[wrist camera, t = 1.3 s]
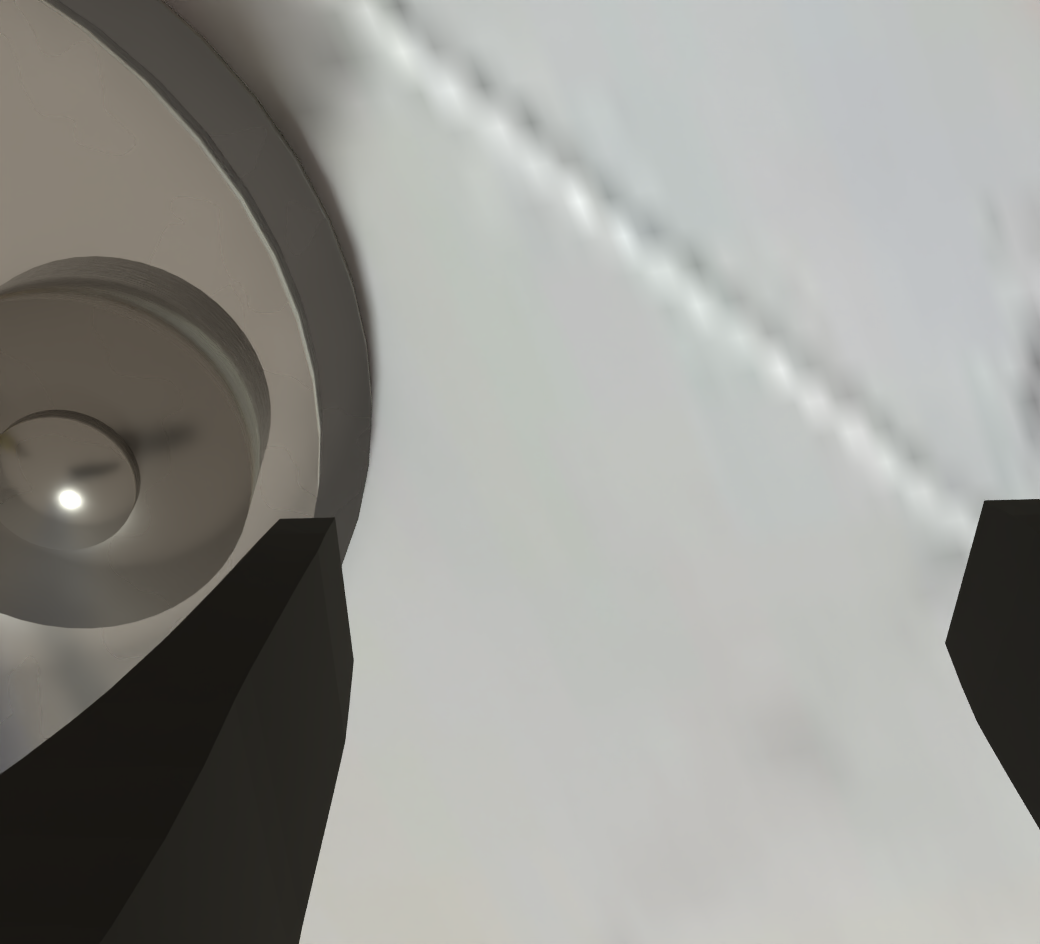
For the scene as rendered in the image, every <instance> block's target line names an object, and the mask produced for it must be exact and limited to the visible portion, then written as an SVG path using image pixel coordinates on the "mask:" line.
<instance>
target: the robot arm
mask: <svg viewBox="0 0 1040 944" xmlns="http://www.w3.org/2000/svg"><path fill="white" fill-rule="evenodd" d="M945 644H946V647H947V649H948V652H949V655H950V657H951V660H952V662H953V665H954V668H955V670H956V673H957V675H958V678H959V680H960V683H961V686H962V688H963V690H964V693H965V695H966V697H967V700H968V702H969V704H970V707H971V709H972V711H973V713H974V716H975V718H976V720H977V722H978V724H979V726H980V728H981V730H982V731H983V733H984V735H985V737H986V739H987V740H988V742H989V744H990V746H991V747H992V749H993V751H994V752H995V754H996V756H997V758H998V759H999V761H1000V763H1001V765H1002V766H1003V768H1004V770H1005V771H1006V773H1007V775H1008V777H1009V778H1010V780H1011V782H1012V783H1013V785H1014V787H1015V789H1016V790H1017V792H1018V794H1019V795H1020V797H1021V799H1022V800H1023V802H1024V804H1025V805H1026V807H1027V809H1028V810H1029V812H1030V814H1031V815H1032V817H1033V819H1034V821H1035V822H1036V824H1037V826H1038V827H1039V829H1040V499H1025V500H987V501H984V504H983V508H982V511H981V515H980V518H979V522H978V526H977V529H976V533H975V537H974V540H973V544H972V548H971V551H970V555H969V558H968V562H967V566H966V569H965V573H964V577H963V580H962V584H961V588H960V591H959V595H958V598H957V602H956V606H955V609H954V613H953V617H952V620H951V624H950V628H949V631H948V635H947V638H946V642H945ZM353 662H354V660H353V652H352V644H351V636H350V628H349V621H348V613H347V605H346V597H345V590H344V582H343V574H342V566H341V559H340V551H339V543H338V535H337V528H336V520H335V517H327V518H288V519H279V520H278V521H277V522H276V523H275V524H274V525H273V526H272V527H271V528H270V529H269V530H268V531H267V532H266V533H265V534H264V535H263V536H262V537H261V538H260V539H259V540H258V542H257V543H256V544H255V545H254V546H253V547H252V548H251V549H250V550H249V551H248V552H247V553H246V555H245V556H244V557H243V558H242V559H241V560H240V561H239V562H238V563H237V564H236V565H235V566H234V568H233V569H232V570H231V571H230V572H229V573H228V574H227V575H226V576H225V577H224V578H223V579H222V580H221V581H220V583H219V584H218V585H217V586H216V587H215V588H214V589H213V590H212V591H211V592H210V593H209V594H208V595H207V596H206V597H205V598H204V599H203V600H202V601H201V602H200V603H199V604H198V605H197V606H196V607H195V608H194V609H193V610H192V611H191V612H190V613H189V615H188V616H187V617H186V618H185V619H184V620H183V621H182V622H181V623H180V624H179V625H178V626H177V627H176V628H175V629H174V630H173V631H172V632H171V633H170V634H169V635H168V636H167V637H166V638H165V639H164V640H163V641H162V642H161V643H159V644H158V645H157V646H156V647H155V648H154V649H153V650H152V651H151V652H150V653H149V654H147V655H146V656H145V657H144V658H143V659H142V660H141V661H140V662H139V663H138V664H137V665H136V666H134V667H133V668H132V669H131V670H130V671H129V672H128V673H127V674H126V675H125V676H124V677H122V678H121V679H120V680H119V681H118V682H117V683H116V684H115V685H114V686H113V687H112V688H110V689H109V690H108V691H107V692H106V693H105V694H103V695H102V696H101V697H100V698H99V699H97V700H96V701H95V702H94V703H93V704H91V705H90V706H89V707H88V708H87V709H85V710H84V711H83V712H82V713H80V714H79V715H78V716H77V717H76V718H74V719H73V720H72V721H71V722H69V723H68V724H67V725H65V726H64V727H63V728H62V729H60V730H59V731H58V732H56V733H55V734H54V735H52V736H51V737H50V738H48V739H47V740H46V741H45V742H43V743H42V744H41V745H39V746H38V747H37V748H35V749H34V750H33V751H31V752H30V753H29V754H28V755H26V756H25V757H23V758H22V759H21V760H19V761H18V762H17V763H15V764H14V765H12V766H11V767H10V768H8V769H7V770H6V771H4V772H3V773H1V774H0V944H299V940H300V935H301V930H302V925H303V921H304V917H305V912H306V908H307V904H308V900H309V895H310V891H311V887H312V883H313V878H314V874H315V870H316V866H317V861H318V857H319V853H320V849H321V844H322V840H323V836H324V832H325V827H326V823H327V819H328V814H329V810H330V806H331V802H332V797H333V793H334V789H335V784H336V780H337V775H338V771H339V767H340V762H341V758H342V753H343V749H344V744H345V739H346V730H347V721H348V712H349V703H350V692H351V682H352V672H353Z"/></svg>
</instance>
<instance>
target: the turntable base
mask: <svg viewBox="0 0 1040 944" xmlns="http://www.w3.org/2000/svg"><path fill="white" fill-rule="evenodd" d="M59 1H60V2H62V3H63V4H65V5H66V6H68V7H69V8H71V9H72V10H73V11H75V12H76V13H78V14H79V15H81V16H82V17H84V18H85V19H87V20H88V21H89V22H91V23H92V24H94V25H95V26H97V27H98V28H100V29H101V30H102V31H103V32H105V33H106V34H107V35H108V36H109V37H110V38H111V39H113V40H114V41H115V42H116V43H117V44H118V45H120V46H121V47H122V48H123V49H124V50H125V51H126V52H128V53H129V54H130V55H131V56H132V57H133V58H134V59H136V60H137V61H138V62H139V63H140V64H141V65H143V66H144V67H145V68H146V69H147V70H148V71H149V72H151V73H152V74H153V75H154V76H155V77H156V78H157V79H159V80H160V82H161V83H162V84H163V85H164V86H165V87H166V88H167V89H168V90H169V91H170V92H171V94H172V95H173V96H174V97H175V98H176V99H177V100H178V101H179V102H180V103H181V104H182V106H183V107H184V108H185V109H186V110H187V111H188V112H189V113H190V114H191V115H192V116H193V118H194V119H195V120H196V121H197V122H198V123H199V124H200V125H201V126H202V127H203V128H204V130H205V131H206V132H207V133H208V134H209V135H210V137H211V138H212V140H213V141H214V142H215V144H216V145H217V147H218V148H219V149H220V151H221V152H222V153H223V155H224V156H225V158H226V159H227V160H228V162H229V163H230V165H231V166H232V167H233V169H234V170H235V171H236V173H237V174H238V176H239V177H240V178H241V180H242V181H243V183H244V184H245V185H246V187H247V188H248V190H249V191H250V193H251V195H252V197H253V199H254V200H255V202H256V204H257V206H258V208H259V209H260V211H261V213H262V215H263V217H264V218H265V220H266V222H267V224H268V226H269V228H270V229H271V231H272V233H273V235H274V237H275V238H276V240H277V242H278V244H279V246H280V248H281V250H282V253H283V255H284V258H285V260H286V263H287V265H288V268H289V270H290V273H291V275H292V278H293V280H294V283H295V285H296V288H297V290H298V293H299V295H300V298H301V300H302V303H303V307H304V311H305V315H306V318H307V322H308V326H309V330H310V334H311V338H312V342H313V346H314V350H315V354H316V358H317V365H318V374H319V382H320V391H321V400H322V409H323V432H322V466H321V473H320V480H319V487H318V495H317V500H316V506H315V512H314V517H313V518H327V517H335V520H336V528H337V535H338V543H339V551H340V559H341V566H342V563H343V560H344V557H345V555H346V552H347V549H348V546H349V543H350V540H351V538H352V535H353V532H354V529H355V526H356V523H357V521H358V517H359V512H360V507H361V502H362V497H363V492H364V487H365V482H366V477H367V471H368V466H369V450H370V430H371V410H372V396H371V385H370V374H369V363H368V352H367V341H366V337H365V333H364V328H363V324H362V319H361V315H360V311H359V306H358V302H357V298H356V293H355V289H354V285H353V281H352V278H351V275H350V273H349V270H348V267H347V264H346V262H345V259H344V256H343V254H342V251H341V248H340V246H339V243H338V240H337V238H336V235H335V232H334V229H333V227H332V224H331V221H330V219H329V217H328V215H327V213H326V211H325V209H324V208H323V206H322V204H321V202H320V200H319V198H318V196H317V194H316V192H315V190H314V188H313V186H312V185H311V183H310V181H309V179H308V177H307V175H306V173H305V171H304V169H303V167H302V165H301V163H300V162H299V160H298V158H297V156H296V155H295V153H294V152H293V151H292V149H291V148H290V146H289V145H288V143H287V142H286V140H285V139H284V137H283V136H282V135H281V133H280V132H279V130H278V129H277V127H276V126H275V124H274V123H273V121H272V120H271V119H270V117H269V116H268V114H267V113H266V111H265V110H264V108H263V107H262V105H261V104H260V103H259V101H258V100H257V98H256V97H255V96H254V95H253V93H252V92H251V91H250V90H249V89H248V88H247V87H246V85H245V84H244V83H243V82H242V81H241V80H240V79H239V77H238V76H237V75H236V74H235V73H234V72H233V71H232V69H231V68H230V67H229V66H228V65H227V64H226V63H225V61H224V60H223V59H222V58H221V57H220V56H219V55H218V54H217V52H216V51H215V50H214V49H213V48H212V47H211V46H210V44H209V43H208V42H207V41H206V40H205V39H204V38H203V37H202V36H201V35H200V34H199V33H198V32H197V31H195V30H194V29H193V28H192V27H191V26H190V25H189V24H188V23H187V22H186V21H184V20H183V19H182V18H181V17H180V16H179V15H178V14H177V13H176V12H174V11H173V10H172V9H171V8H170V7H169V6H168V5H167V4H166V3H165V2H163V1H162V0H59Z"/></svg>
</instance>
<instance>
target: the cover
mask: <svg viewBox="0 0 1040 944" xmlns="http://www.w3.org/2000/svg"><path fill="white" fill-rule="evenodd" d="M270 426H271V404H270V397H269V389H268V385H267V382H266V378H265V374H264V371H263V368H262V366H261V363H260V361H259V359H258V357H257V354H256V352H255V350H254V349H253V347H252V345H251V343H250V342H249V340H248V338H247V337H246V335H245V334H244V332H243V331H242V330H241V329H240V327H239V326H238V325H237V323H236V322H235V321H234V320H233V318H232V317H231V316H230V315H229V314H228V313H227V312H226V311H225V310H224V309H223V308H222V307H221V306H220V305H219V304H218V303H217V302H215V301H214V300H213V299H212V298H210V297H209V296H208V295H206V294H205V293H204V292H203V291H201V290H200V289H198V288H197V287H195V286H193V285H192V284H190V283H189V282H187V281H185V280H184V279H182V278H180V277H178V276H176V275H173V274H171V273H169V272H167V271H165V270H163V269H160V268H157V267H154V266H151V265H148V264H145V263H142V262H137V261H132V260H127V259H122V258H115V257H102V256H89V257H73V258H68V259H62V260H56V261H52V262H49V263H46V264H43V265H40V266H37V267H34V268H32V269H30V270H28V271H26V272H23V273H21V274H19V275H17V276H15V277H14V278H12V279H11V280H9V281H7V282H6V283H4V284H3V285H1V286H0V613H2V614H5V615H8V616H11V617H14V618H17V619H20V620H23V621H28V622H32V623H36V624H41V625H46V626H54V627H62V628H90V629H91V628H102V627H113V626H118V625H123V624H128V623H133V622H137V621H140V620H143V619H146V618H149V617H152V616H155V615H158V614H160V613H162V612H164V611H166V610H169V609H171V608H173V607H175V606H177V605H178V604H180V603H181V602H183V601H185V600H186V599H188V598H189V597H191V596H193V595H194V594H195V593H196V592H198V591H199V590H200V589H201V588H202V587H204V586H205V585H206V584H207V583H208V582H209V581H210V580H211V579H212V578H213V577H214V576H215V575H216V574H217V573H218V572H219V570H220V569H221V568H222V567H223V566H224V564H225V563H226V561H227V560H228V558H229V557H230V555H231V554H232V552H233V551H234V549H235V547H236V545H237V543H238V540H239V538H240V536H241V534H242V532H243V528H244V525H245V522H246V519H247V515H248V512H249V508H250V505H251V501H252V498H253V494H254V490H255V487H256V483H257V480H258V476H259V472H260V469H261V465H262V462H263V458H264V454H265V451H266V447H267V444H268V439H269V432H270Z"/></svg>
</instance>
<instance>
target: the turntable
mask: <svg viewBox="0 0 1040 944" xmlns="http://www.w3.org/2000/svg"><path fill="white" fill-rule="evenodd" d="M89 256H102V257H115V258H122V259H127V260H132V261H137V262H142V263H145V264H148V265H151V266H154V267H157V268H160V269H163V270H165V271H167V272H169V273H171V274H173V275H176V276H178V277H180V278H182V279H184V280H185V281H187V282H189V283H190V284H192V285H193V286H195V287H197V288H198V289H200V290H201V291H203V292H204V293H205V294H206V295H208V296H209V297H210V298H212V299H213V300H214V301H215V302H217V303H218V304H219V305H220V306H221V307H222V308H223V309H224V310H225V311H226V312H227V313H228V314H229V315H230V316H231V317H232V318H233V320H234V321H235V322H236V323H237V325H238V326H239V327H240V329H241V330H242V331H243V332H244V334H245V335H246V337H247V338H248V340H249V342H250V343H251V345H252V347H253V349H254V350H255V352H256V354H257V357H258V359H259V361H260V363H261V366H262V368H263V371H264V374H265V378H266V382H267V385H268V389H269V397H270V404H271V426H270V432H269V439H268V444H267V447H266V451H265V454H264V458H263V462H262V465H261V469H260V472H259V476H258V480H257V483H256V487H255V490H254V494H253V498H252V501H251V505H250V508H249V512H248V515H247V519H246V522H245V525H244V528H243V532H242V534H241V536H240V538H239V540H238V543H237V545H236V547H235V549H234V551H233V552H232V554H231V555H230V557H229V558H228V560H227V561H226V563H225V564H224V566H223V567H222V568H221V569H220V570H219V572H218V573H217V574H216V575H215V576H214V577H213V578H212V579H211V580H210V581H209V582H208V583H207V584H206V585H205V586H204V587H202V588H201V589H200V590H199V591H198V592H196V593H195V594H194V595H193V596H191V597H189V598H188V599H186V600H185V601H183V602H181V603H180V604H178V605H177V606H175V607H173V608H171V609H169V610H166V611H164V612H162V613H160V614H158V615H155V616H152V617H149V618H146V619H143V620H140V621H137V622H133V623H128V624H123V625H118V626H113V627H102V628H91V629H90V628H62V627H54V626H46V625H41V624H36V623H32V622H28V621H23V620H20V619H17V618H14V617H11V616H8V615H5V614H2V613H0V774H1V773H3V772H4V771H6V770H7V769H8V768H10V767H11V766H12V765H14V764H15V763H17V762H18V761H19V760H21V759H22V758H23V757H25V756H26V755H28V754H29V753H30V752H31V751H33V750H34V749H35V748H37V747H38V746H39V745H41V744H42V743H43V742H45V741H46V740H47V739H48V738H50V737H51V736H52V735H54V734H55V733H56V732H58V731H59V730H60V729H62V728H63V727H64V726H65V725H67V724H68V723H69V722H71V721H72V720H73V719H74V718H76V717H77V716H78V715H79V714H80V713H82V712H83V711H84V710H85V709H87V708H88V707H89V706H90V705H91V704H93V703H94V702H95V701H96V700H97V699H99V698H100V697H101V696H102V695H103V694H105V693H106V692H107V691H108V690H109V689H110V688H112V687H113V686H114V685H115V684H116V683H117V682H118V681H119V680H120V679H121V678H122V677H124V676H125V675H126V674H127V673H128V672H129V671H130V670H131V669H132V668H133V667H134V666H136V665H137V664H138V663H139V662H140V661H141V660H142V659H143V658H144V657H145V656H146V655H147V654H149V653H150V652H151V651H152V650H153V649H154V648H155V647H156V646H157V645H158V644H159V643H161V642H162V641H163V640H164V639H165V638H166V637H167V636H168V635H169V634H170V633H171V632H172V631H173V630H174V629H175V628H176V627H177V626H178V625H179V624H180V623H181V622H182V621H183V620H184V619H185V618H186V617H187V616H188V615H189V613H190V612H191V611H192V610H193V609H194V608H195V607H196V606H197V605H198V604H199V603H200V602H201V601H202V600H203V599H204V598H205V597H206V596H207V595H208V594H209V593H210V592H211V591H212V590H213V589H214V588H215V587H216V586H217V585H218V584H219V583H220V581H221V580H222V579H223V578H224V577H225V576H226V575H227V574H228V573H229V572H230V571H231V570H232V569H233V568H234V566H235V565H236V564H237V563H238V562H239V561H240V560H241V559H242V558H243V557H244V556H245V555H246V553H247V552H248V551H249V550H250V549H251V548H252V547H253V546H254V545H255V544H256V543H257V542H258V540H259V539H260V538H261V537H262V536H263V535H264V534H265V533H266V532H267V531H268V530H269V529H270V528H271V527H272V526H273V525H274V524H275V523H276V522H277V521H278V520H279V519H288V518H313V517H314V512H315V506H316V500H317V495H318V487H319V480H320V473H321V466H322V432H323V409H322V400H321V391H320V382H319V374H318V365H317V358H316V354H315V350H314V346H313V342H312V338H311V334H310V330H309V326H308V322H307V318H306V315H305V311H304V307H303V303H302V300H301V298H300V295H299V293H298V290H297V288H296V285H295V283H294V280H293V278H292V275H291V273H290V270H289V268H288V265H287V263H286V260H285V258H284V255H283V253H282V250H281V248H280V246H279V244H278V242H277V240H276V238H275V237H274V235H273V233H272V231H271V229H270V228H269V226H268V224H267V222H266V220H265V218H264V217H263V215H262V213H261V211H260V209H259V208H258V206H257V204H256V202H255V200H254V199H253V197H252V195H251V193H250V191H249V190H248V188H247V187H246V185H245V184H244V183H243V181H242V180H241V178H240V177H239V176H238V174H237V173H236V171H235V170H234V169H233V167H232V166H231V165H230V163H229V162H228V160H227V159H226V158H225V156H224V155H223V153H222V152H221V151H220V149H219V148H218V147H217V145H216V144H215V142H214V141H213V140H212V138H211V137H210V135H209V134H208V133H207V132H206V131H205V130H204V128H203V127H202V126H201V125H200V124H199V123H198V122H197V121H196V120H195V119H194V118H193V116H192V115H191V114H190V113H189V112H188V111H187V110H186V109H185V108H184V107H183V106H182V104H181V103H180V102H179V101H178V100H177V99H176V98H175V97H174V96H173V95H172V94H171V92H170V91H169V90H168V89H167V88H166V87H165V86H164V85H163V84H162V83H161V82H160V80H159V79H157V78H156V77H155V76H154V75H153V74H152V73H151V72H149V71H148V70H147V69H146V68H145V67H144V66H143V65H141V64H140V63H139V62H138V61H137V60H136V59H134V58H133V57H132V56H131V55H130V54H129V53H128V52H126V51H125V50H124V49H123V48H122V47H121V46H120V45H118V44H117V43H116V42H115V41H114V40H113V39H111V38H110V37H109V36H108V35H107V34H106V33H105V32H103V31H102V30H101V29H100V28H98V27H97V26H95V25H94V24H92V23H91V22H89V21H88V20H87V19H85V18H84V17H82V16H81V15H79V14H78V13H76V12H75V11H73V10H72V9H71V8H69V7H68V6H66V5H65V4H63V3H62V2H60V1H59V0H0V286H1V285H3V284H4V283H6V282H7V281H9V280H11V279H12V278H14V277H15V276H17V275H19V274H21V273H23V272H26V271H28V270H30V269H32V268H34V267H37V266H40V265H43V264H46V263H49V262H52V261H56V260H62V259H68V258H73V257H89Z"/></svg>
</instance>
